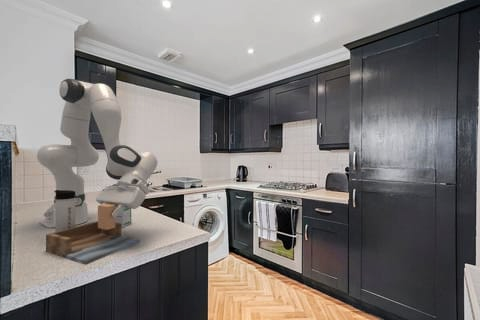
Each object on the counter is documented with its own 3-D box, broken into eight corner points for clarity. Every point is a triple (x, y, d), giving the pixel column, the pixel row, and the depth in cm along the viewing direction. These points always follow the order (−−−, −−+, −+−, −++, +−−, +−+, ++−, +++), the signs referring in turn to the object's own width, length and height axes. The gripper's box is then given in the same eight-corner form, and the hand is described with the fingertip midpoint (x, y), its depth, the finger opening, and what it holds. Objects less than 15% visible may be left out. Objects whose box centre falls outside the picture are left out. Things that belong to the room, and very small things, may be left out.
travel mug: (57, 238, 88) (57, 189, 88) (77, 236, 91) (77, 188, 91) (51, 244, 83) (51, 191, 83) (72, 241, 85) (72, 190, 85)
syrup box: (123, 227, 103) (123, 196, 103) (112, 226, 105) (112, 196, 104) (131, 224, 109) (131, 194, 109) (121, 223, 110) (121, 194, 110)
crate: (45, 251, 76) (45, 234, 76) (102, 233, 95) (102, 219, 95) (85, 264, 67) (85, 244, 67) (139, 241, 86) (139, 226, 86)
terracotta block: (97, 228, 78) (97, 205, 78) (106, 225, 81) (105, 204, 81) (107, 229, 76) (107, 206, 76) (115, 227, 79) (115, 205, 79)
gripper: (107, 179, 89) (81, 207, 80) (143, 181, 81) (120, 213, 72) (117, 188, 93) (93, 217, 85) (153, 191, 85) (131, 223, 76)
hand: (106, 215), depth 78 cm, fingers closed on terracotta block, 5 cm apart
